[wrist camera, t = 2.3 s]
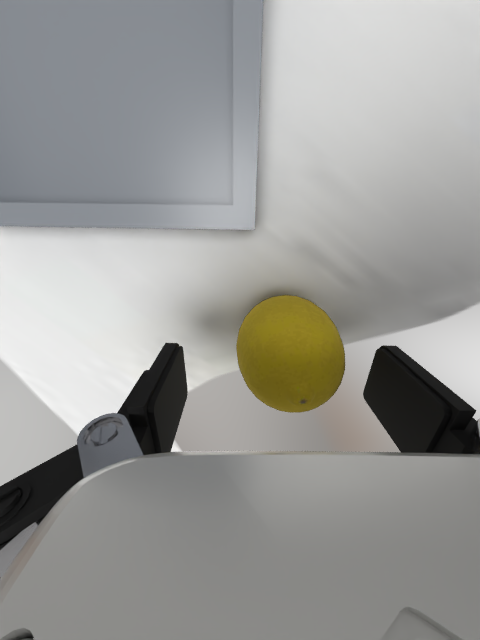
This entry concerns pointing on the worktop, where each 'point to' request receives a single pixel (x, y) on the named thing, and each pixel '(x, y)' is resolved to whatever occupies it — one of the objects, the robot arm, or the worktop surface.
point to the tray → (129, 113)
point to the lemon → (290, 354)
